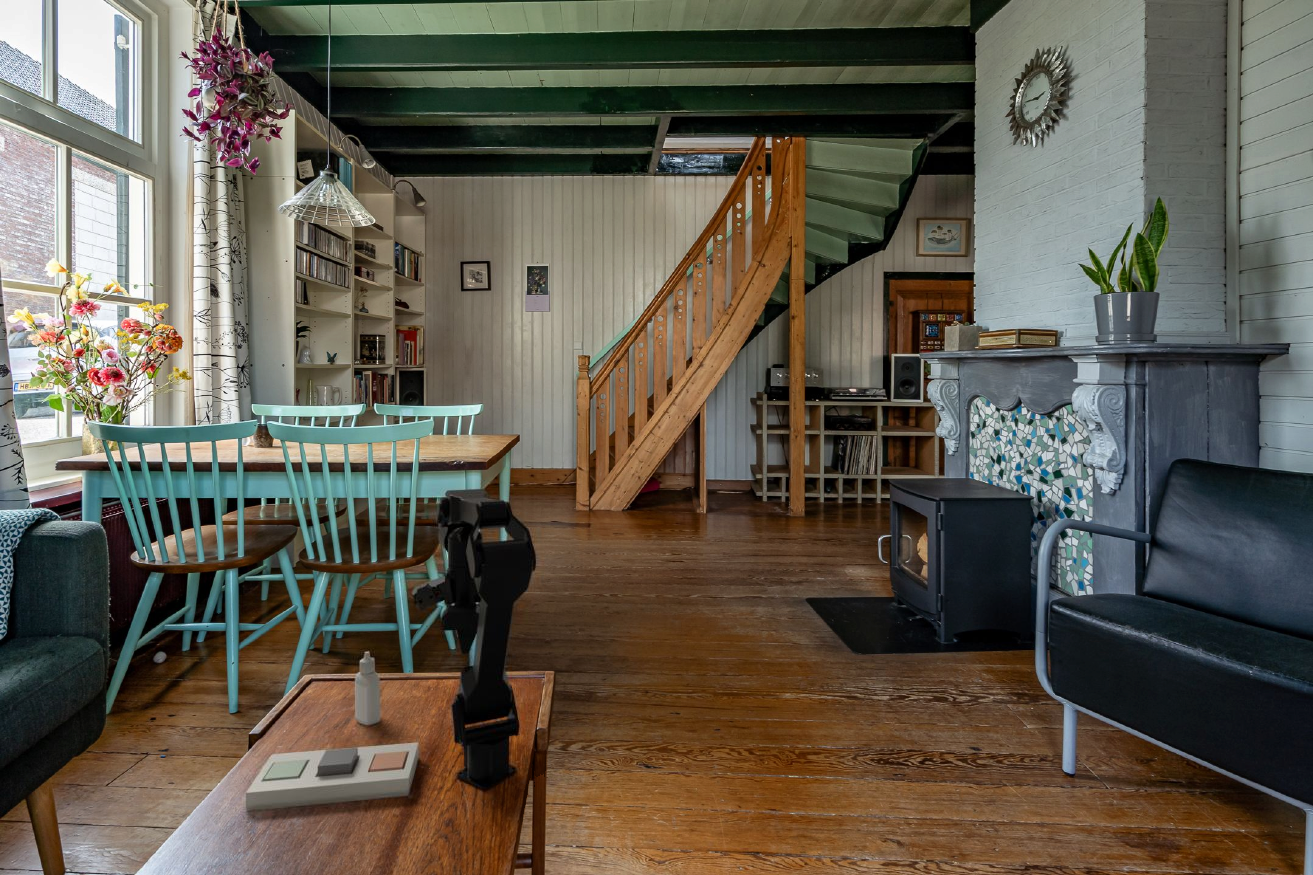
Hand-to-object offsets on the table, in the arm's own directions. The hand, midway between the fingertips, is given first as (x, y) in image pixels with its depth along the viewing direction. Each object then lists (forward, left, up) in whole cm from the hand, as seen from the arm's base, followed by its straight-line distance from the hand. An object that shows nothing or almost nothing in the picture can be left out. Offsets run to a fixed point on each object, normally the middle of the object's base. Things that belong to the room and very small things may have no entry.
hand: (465, 653), depth 116 cm
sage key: (+7, +27, -12) cm, 30 cm away
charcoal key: (+2, +22, -11) cm, 25 cm away
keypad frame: (+2, +22, -13) cm, 26 cm away
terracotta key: (-3, +17, -12) cm, 21 cm away
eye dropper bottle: (+16, +8, -13) cm, 22 cm away
